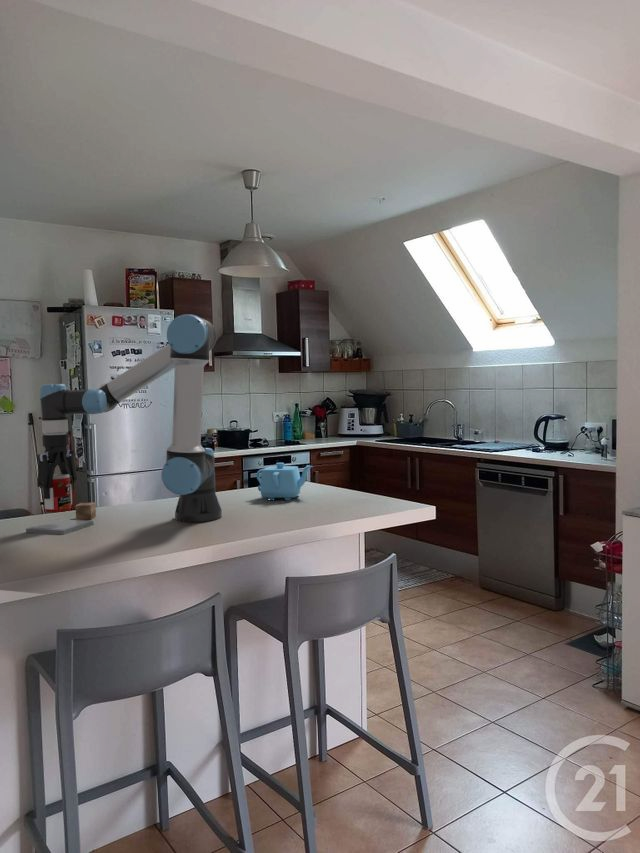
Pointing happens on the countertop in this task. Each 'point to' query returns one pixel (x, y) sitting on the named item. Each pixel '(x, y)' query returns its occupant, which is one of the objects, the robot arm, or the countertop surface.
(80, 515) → the walnut block
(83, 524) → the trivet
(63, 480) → the canned food
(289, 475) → the teapot
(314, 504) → the countertop surface
